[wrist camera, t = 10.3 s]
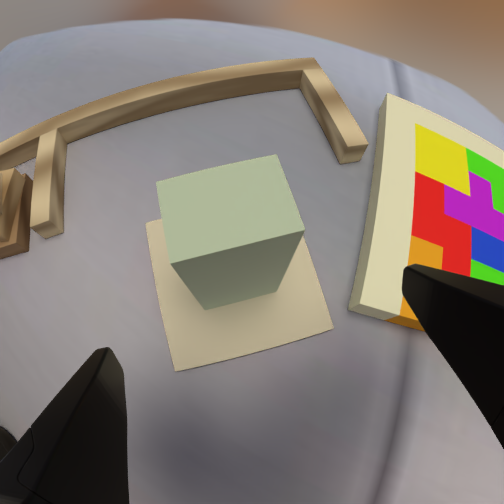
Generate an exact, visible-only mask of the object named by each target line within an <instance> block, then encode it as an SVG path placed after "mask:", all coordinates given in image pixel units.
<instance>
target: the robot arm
mask: <svg viewBox="0 0 504 504" xmlns="http://www.w3.org/2000/svg"><path fill="white" fill-rule="evenodd" d="M402 294H403V297H404V298H405V300H406V301H407V303H408V305H409V306H410V308H411V309H412V311H413V313H414V314H415V316H416V318H417V319H418V321H419V322H420V324H421V326H422V327H423V329H424V330H425V332H426V333H427V335H428V336H429V338H430V339H431V340H432V342H433V343H434V344H435V346H436V347H437V348H438V350H439V351H440V352H441V354H442V355H443V357H444V358H445V359H446V361H447V362H448V364H449V365H450V366H451V368H452V369H453V371H454V372H455V373H456V375H457V376H458V378H459V379H460V381H461V382H462V384H463V385H464V387H465V388H466V390H467V391H468V392H469V394H470V395H471V397H472V398H473V400H474V402H475V403H476V405H477V406H478V408H479V409H480V411H481V412H482V414H483V415H484V417H485V419H486V420H487V422H488V423H489V425H490V426H491V429H492V430H493V432H494V434H495V435H496V437H497V439H498V440H499V442H500V444H501V445H502V447H503V449H504V285H500V284H496V283H492V282H489V281H485V280H481V279H477V278H473V277H469V276H465V275H461V274H457V273H453V272H449V271H445V270H441V269H437V268H433V267H428V266H424V265H420V264H412V265H409V266H406V267H405V268H404V270H403V278H402ZM0 504H129V489H128V464H127V410H126V398H125V385H124V373H123V369H122V367H121V365H120V363H119V362H118V360H117V358H116V356H115V355H114V353H113V351H112V350H111V349H110V348H109V347H105V348H100V349H97V350H95V352H94V353H93V354H92V355H91V356H90V357H89V358H88V359H87V361H86V362H85V363H84V364H83V365H82V366H81V367H80V368H79V370H78V371H77V372H76V373H75V374H74V375H73V376H72V378H71V379H70V380H69V381H68V382H67V383H66V385H65V386H64V387H63V388H62V389H61V390H60V392H59V393H58V394H57V395H56V396H55V397H54V399H53V400H52V401H51V402H50V403H49V405H48V406H47V407H46V408H45V409H44V411H43V412H42V413H41V414H40V415H39V417H38V418H37V419H36V420H35V421H34V423H33V424H32V425H31V428H29V429H28V430H27V431H26V433H25V434H24V435H23V436H22V437H21V439H20V440H19V441H18V442H17V443H16V445H15V446H14V447H13V448H12V449H11V450H10V451H9V453H8V454H7V455H6V456H5V457H4V458H3V459H2V460H1V461H0Z"/></svg>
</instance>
